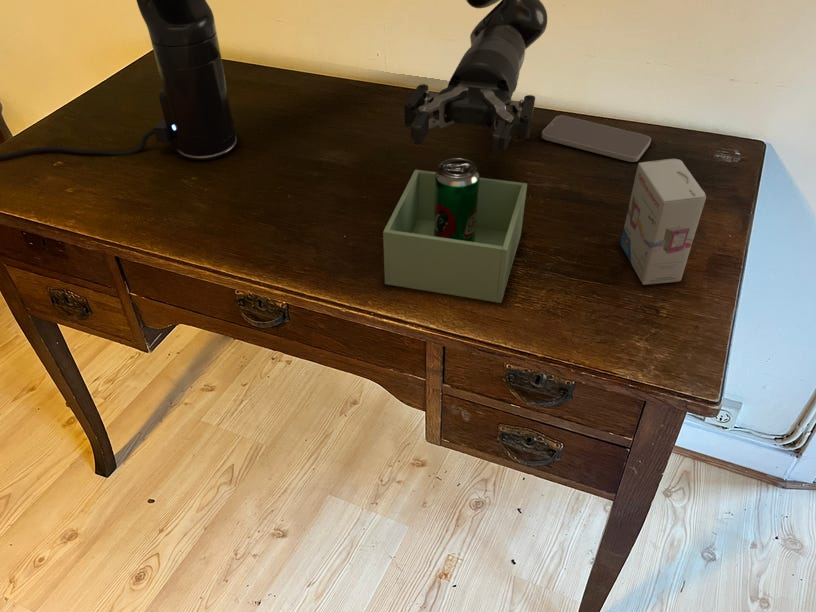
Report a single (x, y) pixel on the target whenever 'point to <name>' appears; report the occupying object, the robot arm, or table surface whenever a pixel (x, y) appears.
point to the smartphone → (597, 138)
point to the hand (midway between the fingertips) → (456, 141)
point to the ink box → (662, 220)
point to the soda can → (456, 200)
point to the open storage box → (454, 241)
